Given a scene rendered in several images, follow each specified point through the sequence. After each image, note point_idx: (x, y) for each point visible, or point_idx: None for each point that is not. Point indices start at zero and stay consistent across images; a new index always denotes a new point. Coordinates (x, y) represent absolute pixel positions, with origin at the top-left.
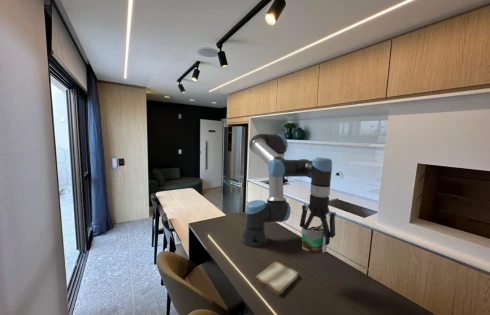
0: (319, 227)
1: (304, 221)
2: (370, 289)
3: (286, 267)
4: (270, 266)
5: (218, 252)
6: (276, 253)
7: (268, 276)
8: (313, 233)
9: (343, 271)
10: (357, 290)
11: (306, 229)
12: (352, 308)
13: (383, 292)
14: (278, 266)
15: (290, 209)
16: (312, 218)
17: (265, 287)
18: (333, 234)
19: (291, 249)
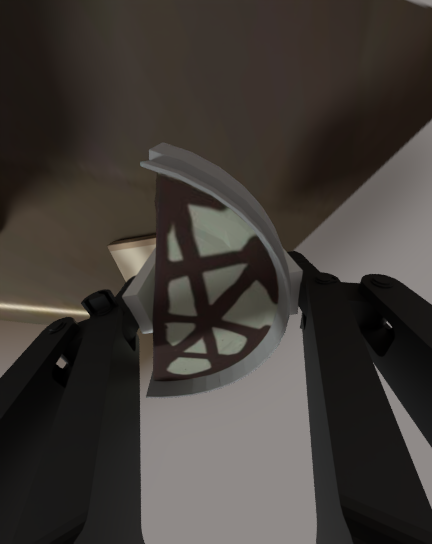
0: (192, 251)
1: (49, 367)
2: (366, 76)
3: (146, 244)
4: (125, 273)
5: (23, 314)
6: (54, 192)
7: None
8: (232, 373)
9: (262, 40)
10: (325, 133)
11: (159, 362)
12: (318, 220)
13: (413, 42)
14: (133, 257)
15: None
16: (111, 467)
17: None
18: (394, 335)
19: (32, 100)
